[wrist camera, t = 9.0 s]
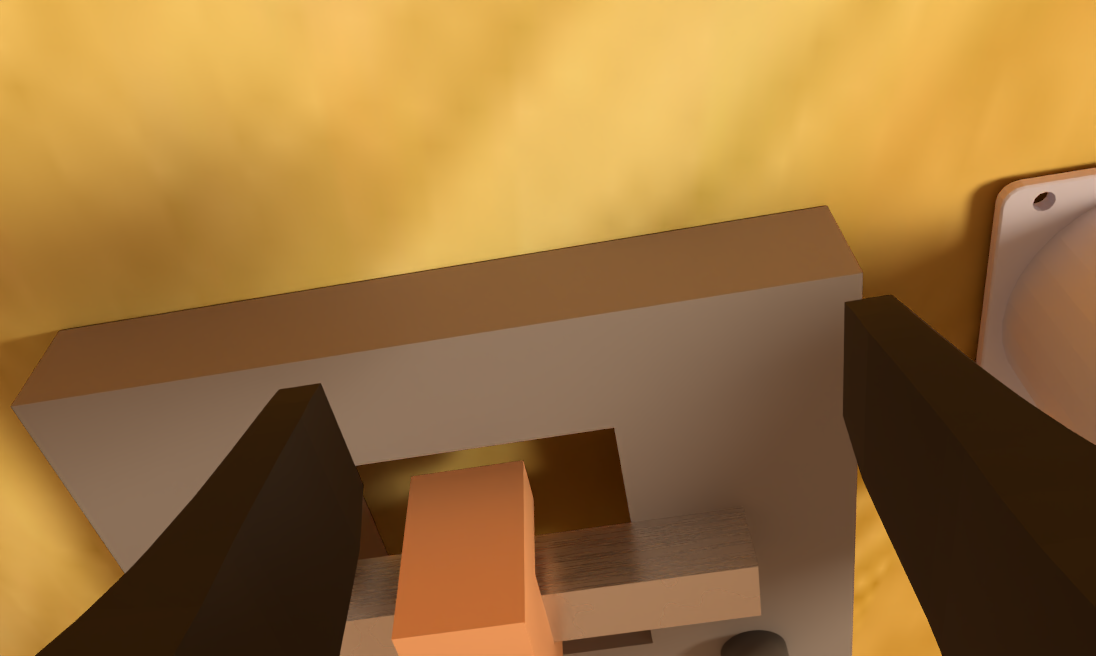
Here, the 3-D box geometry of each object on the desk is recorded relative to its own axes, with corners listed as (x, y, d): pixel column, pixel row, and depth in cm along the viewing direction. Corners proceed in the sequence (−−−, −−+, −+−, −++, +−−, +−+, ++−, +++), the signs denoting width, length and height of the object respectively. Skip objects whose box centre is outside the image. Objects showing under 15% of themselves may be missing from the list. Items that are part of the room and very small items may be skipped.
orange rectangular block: (523, 460, 25) (524, 622, 21) (560, 602, 28) (567, 764, 24) (411, 476, 25) (391, 639, 21) (462, 615, 29) (453, 777, 25)
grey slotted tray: (827, 205, 23) (891, 327, 19) (826, 606, 33) (869, 743, 29) (58, 331, 25) (-29, 466, 21) (269, 678, 34) (236, 817, 30)
